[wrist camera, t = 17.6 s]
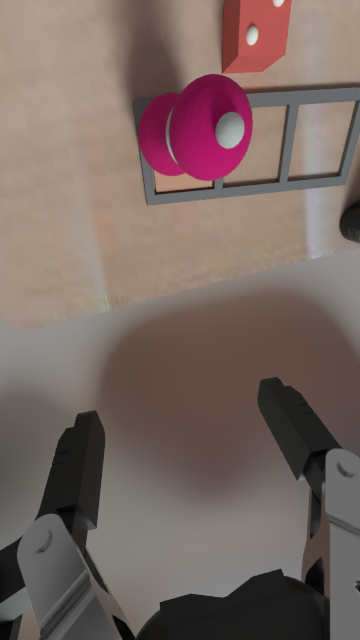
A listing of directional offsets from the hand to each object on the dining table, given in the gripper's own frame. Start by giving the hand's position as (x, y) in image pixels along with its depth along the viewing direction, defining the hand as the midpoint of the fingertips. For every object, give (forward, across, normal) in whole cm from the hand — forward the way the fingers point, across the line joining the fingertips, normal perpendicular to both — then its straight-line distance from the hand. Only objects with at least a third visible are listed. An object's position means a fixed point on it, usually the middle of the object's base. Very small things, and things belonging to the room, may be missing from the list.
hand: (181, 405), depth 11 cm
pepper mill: (+30, -4, -13) cm, 33 cm away
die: (+30, -14, -21) cm, 39 cm away
